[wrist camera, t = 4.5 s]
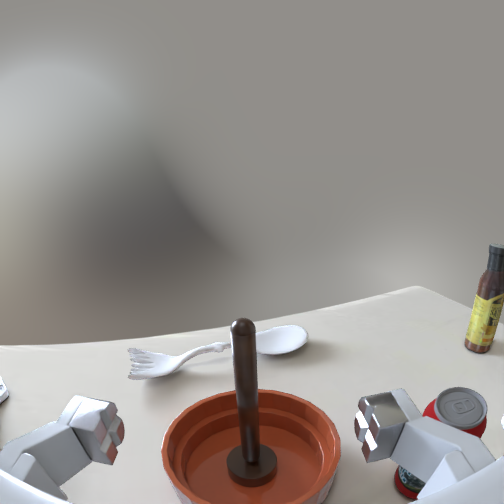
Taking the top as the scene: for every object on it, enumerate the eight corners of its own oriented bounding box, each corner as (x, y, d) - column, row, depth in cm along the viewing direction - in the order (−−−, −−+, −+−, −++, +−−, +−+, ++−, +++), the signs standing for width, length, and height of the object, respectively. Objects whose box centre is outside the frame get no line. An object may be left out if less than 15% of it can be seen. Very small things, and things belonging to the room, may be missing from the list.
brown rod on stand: (218, 470, 25) (190, 321, 20) (250, 445, 29) (240, 299, 24) (254, 495, 21) (244, 346, 17) (286, 466, 25) (293, 315, 21)
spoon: (131, 362, 47) (126, 345, 46) (292, 330, 58) (293, 315, 57) (132, 392, 39) (126, 374, 38) (316, 350, 50) (317, 334, 49)
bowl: (145, 469, 25) (129, 438, 23) (247, 404, 37) (244, 372, 36) (261, 564, 13) (260, 550, 12) (358, 456, 26) (369, 423, 24)
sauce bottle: (482, 358, 38) (507, 251, 33) (458, 346, 44) (478, 244, 39) (494, 345, 40) (517, 247, 36) (472, 335, 46) (490, 240, 41)
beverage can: (385, 466, 23) (416, 391, 21) (435, 452, 23) (471, 376, 20) (400, 510, 17) (447, 442, 14) (454, 491, 16) (505, 417, 14)
